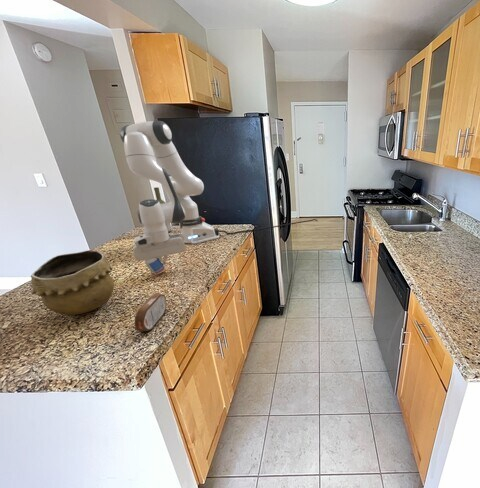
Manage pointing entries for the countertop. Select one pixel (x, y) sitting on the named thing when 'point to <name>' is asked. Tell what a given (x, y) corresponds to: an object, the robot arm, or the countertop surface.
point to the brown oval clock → (150, 312)
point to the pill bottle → (155, 265)
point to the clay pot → (74, 282)
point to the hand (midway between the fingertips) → (164, 264)
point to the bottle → (161, 203)
